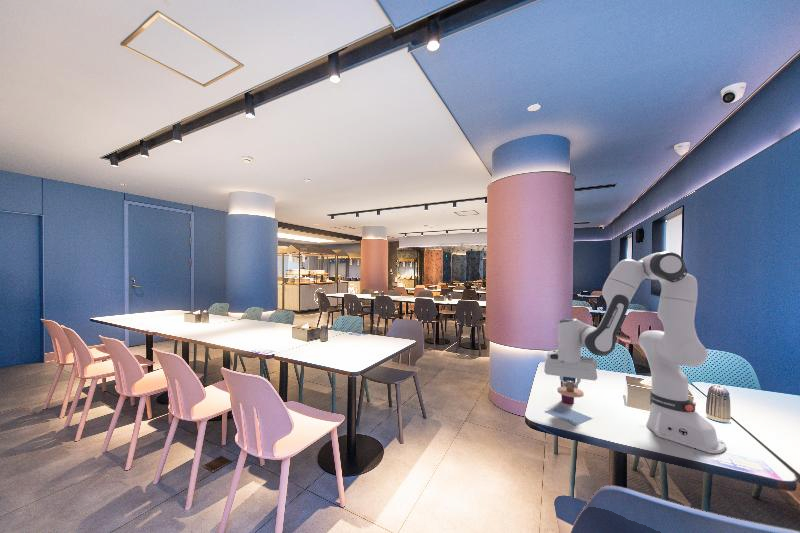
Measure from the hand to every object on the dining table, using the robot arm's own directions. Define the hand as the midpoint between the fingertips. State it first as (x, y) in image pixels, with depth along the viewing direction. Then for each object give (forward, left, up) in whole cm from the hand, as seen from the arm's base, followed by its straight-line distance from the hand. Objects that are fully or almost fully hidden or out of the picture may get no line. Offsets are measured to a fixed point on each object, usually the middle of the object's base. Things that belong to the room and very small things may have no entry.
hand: (570, 387), depth 133 cm
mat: (+1, 0, -13) cm, 13 cm away
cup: (+9, -13, -13) cm, 20 cm away
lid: (0, 0, -2) cm, 2 cm away
